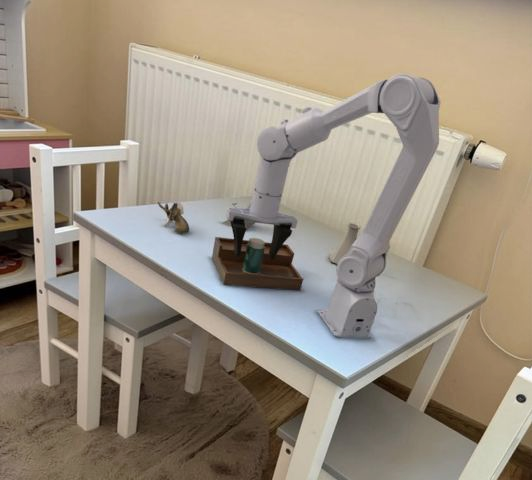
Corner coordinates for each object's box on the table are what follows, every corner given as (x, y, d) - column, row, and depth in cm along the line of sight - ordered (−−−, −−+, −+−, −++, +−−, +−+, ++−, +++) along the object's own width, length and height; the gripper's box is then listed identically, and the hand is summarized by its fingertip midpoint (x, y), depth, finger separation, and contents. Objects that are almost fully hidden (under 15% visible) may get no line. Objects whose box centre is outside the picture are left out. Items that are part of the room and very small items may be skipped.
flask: (355, 271, 128) (368, 233, 123) (327, 263, 129) (339, 225, 124) (356, 261, 134) (368, 225, 129) (330, 254, 135) (341, 217, 130)
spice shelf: (300, 290, 111) (306, 268, 108) (223, 284, 105) (227, 261, 102) (282, 265, 121) (287, 244, 118) (211, 258, 115) (215, 236, 112)
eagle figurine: (148, 215, 126) (162, 222, 119) (164, 191, 126) (179, 196, 119) (171, 232, 131) (186, 240, 125) (187, 209, 131) (202, 215, 124)
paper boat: (236, 229, 132) (213, 207, 135) (237, 243, 138) (215, 223, 141) (271, 204, 135) (248, 183, 138) (270, 219, 141) (248, 200, 144)
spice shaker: (261, 274, 108) (268, 245, 105) (244, 272, 107) (250, 243, 104) (256, 266, 111) (263, 238, 108) (240, 265, 110) (246, 236, 107)
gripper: (295, 190, 106) (280, 251, 113) (228, 180, 101) (217, 245, 108) (306, 201, 101) (290, 265, 108) (236, 191, 96) (223, 259, 103)
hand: (254, 256), depth 108 cm, fingers open, 7 cm apart
